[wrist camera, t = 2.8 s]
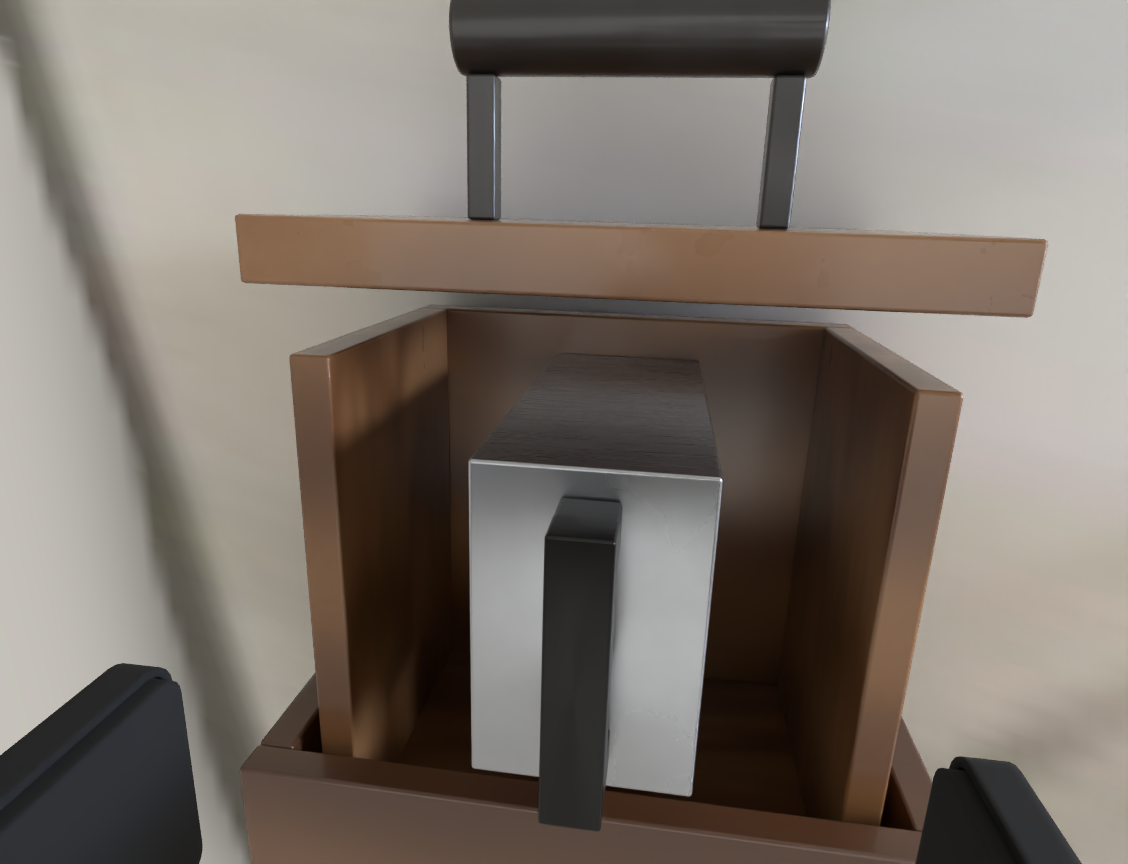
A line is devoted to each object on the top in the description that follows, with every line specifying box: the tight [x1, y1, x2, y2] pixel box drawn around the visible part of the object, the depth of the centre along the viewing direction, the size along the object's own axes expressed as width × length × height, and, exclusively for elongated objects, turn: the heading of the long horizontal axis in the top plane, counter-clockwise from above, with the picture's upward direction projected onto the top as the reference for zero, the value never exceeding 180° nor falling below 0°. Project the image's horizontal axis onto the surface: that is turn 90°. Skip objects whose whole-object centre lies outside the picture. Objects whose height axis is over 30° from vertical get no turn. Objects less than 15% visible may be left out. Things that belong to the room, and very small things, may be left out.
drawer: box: [235, 0, 1048, 826], centre depth 17 cm, size 19×13×9 cm
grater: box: [468, 353, 723, 832], centre depth 16 cm, size 6×4×11 cm, turn 178°
